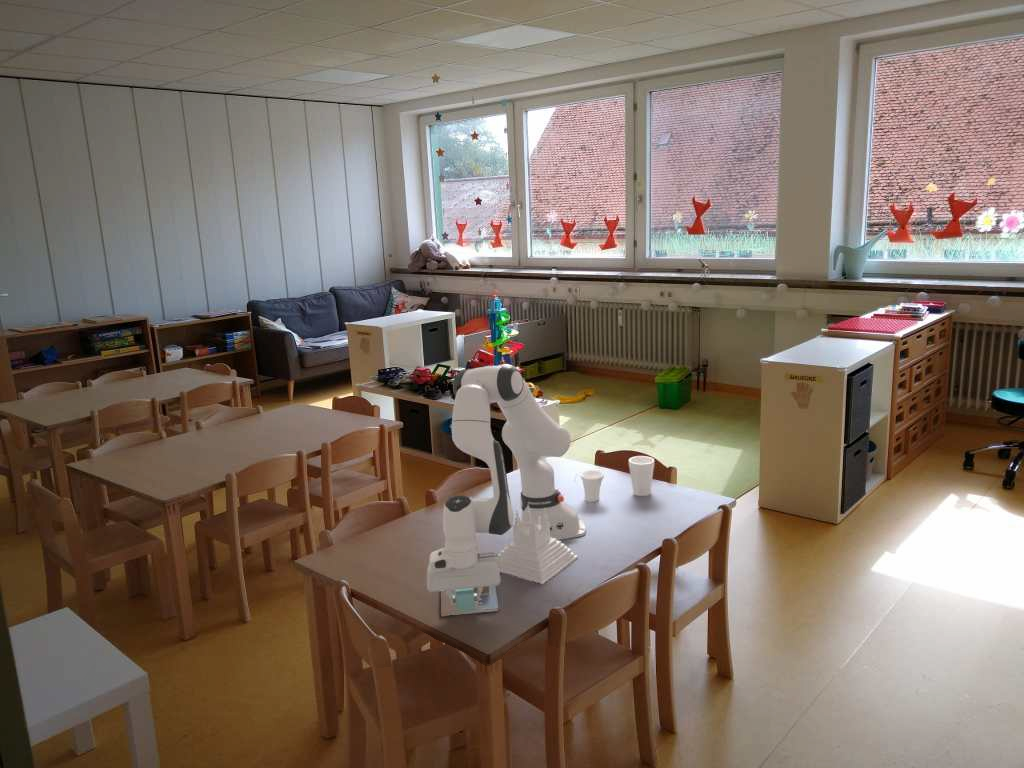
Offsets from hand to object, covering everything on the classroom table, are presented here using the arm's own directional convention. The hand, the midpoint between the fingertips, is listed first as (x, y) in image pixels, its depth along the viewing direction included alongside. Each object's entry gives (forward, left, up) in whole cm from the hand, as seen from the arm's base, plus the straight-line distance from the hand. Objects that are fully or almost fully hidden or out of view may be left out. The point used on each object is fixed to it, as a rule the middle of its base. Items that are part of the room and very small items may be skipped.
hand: (465, 601), depth 214 cm
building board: (-1, -5, -3) cm, 6 cm away
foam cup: (-69, -73, -3) cm, 100 cm away
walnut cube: (-5, -8, -2) cm, 10 cm away
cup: (-50, -71, -3) cm, 87 cm away
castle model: (-22, -24, -3) cm, 33 cm away
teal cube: (0, 0, -2) cm, 2 cm away
